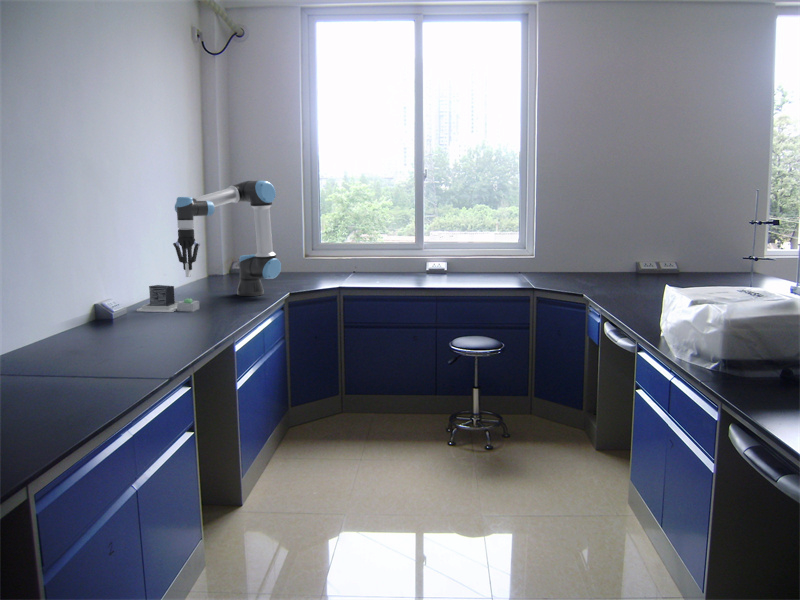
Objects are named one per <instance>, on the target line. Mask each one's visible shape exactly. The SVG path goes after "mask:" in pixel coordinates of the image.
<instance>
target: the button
mask: <svg viewBox="0 0 800 600" xmlns="http://www.w3.org/2000/svg"><path fill="white" fill-rule="evenodd" d="M183 300H184V303H192V301H193V299H192V298H184V299H183Z"/></svg>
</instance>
